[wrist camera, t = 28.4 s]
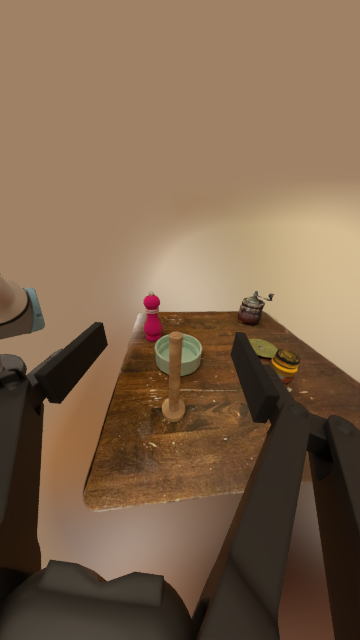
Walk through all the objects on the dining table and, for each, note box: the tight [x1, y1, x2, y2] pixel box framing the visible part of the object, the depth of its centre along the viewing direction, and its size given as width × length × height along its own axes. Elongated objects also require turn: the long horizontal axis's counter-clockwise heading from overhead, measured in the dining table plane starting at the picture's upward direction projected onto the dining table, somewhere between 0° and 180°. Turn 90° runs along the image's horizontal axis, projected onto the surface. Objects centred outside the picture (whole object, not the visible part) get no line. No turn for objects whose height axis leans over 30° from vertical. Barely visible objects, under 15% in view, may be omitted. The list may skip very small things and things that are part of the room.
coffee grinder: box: [238, 291, 274, 325], centre depth 74 cm, size 13×15×18 cm
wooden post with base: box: [162, 332, 185, 422], centre depth 32 cm, size 6×6×22 cm
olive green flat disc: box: [249, 339, 278, 358], centre depth 58 cm, size 11×11×2 cm
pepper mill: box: [144, 291, 162, 342], centre depth 59 cm, size 7×7×20 cm
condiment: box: [269, 349, 300, 392], centre depth 42 cm, size 7×8×12 cm
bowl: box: [155, 334, 202, 376], centre depth 51 cm, size 15×15×6 cm
